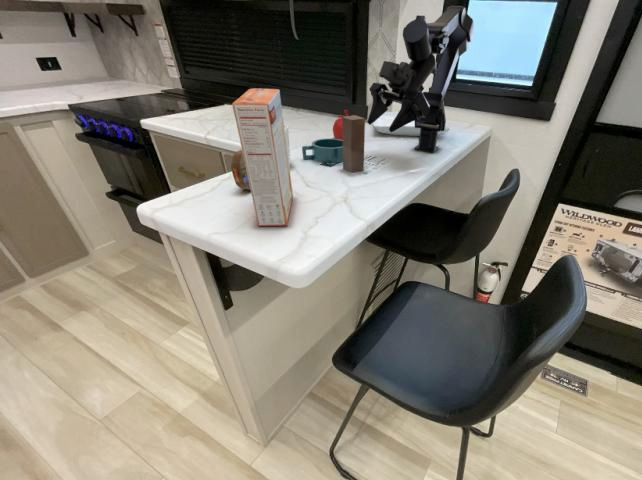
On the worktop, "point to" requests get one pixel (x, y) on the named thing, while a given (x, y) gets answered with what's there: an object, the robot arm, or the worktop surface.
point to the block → (353, 143)
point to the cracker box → (265, 154)
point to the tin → (240, 170)
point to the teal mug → (325, 151)
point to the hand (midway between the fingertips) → (378, 127)
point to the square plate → (409, 129)
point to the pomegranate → (339, 127)
